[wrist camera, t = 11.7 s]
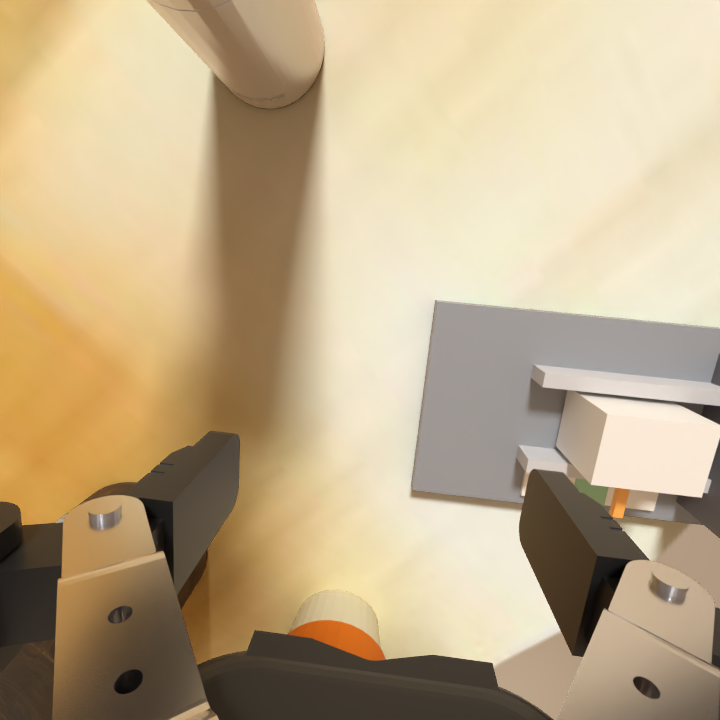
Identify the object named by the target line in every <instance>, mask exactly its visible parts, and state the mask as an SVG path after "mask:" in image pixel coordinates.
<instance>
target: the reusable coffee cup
mask: <svg viewBox="0 0 720 720" xmlns="http://www.w3.org/2000/svg"><path fill="white" fill-rule="evenodd" d="M288 635H292V636H299V637H307V638H313V639H315V640H318V641H320V642H323V643H326V644H328V645H331V646H333V647H336V648H338V649H341V650H344V651H346V652H349V653H351V654H354V655H356V656H359V657H361V658H364V659H367V660H372V661H379V660H386V659H385V657H384V654H383V652H382V650H381V648H380V639H379V630H378V621H377V618H376V615H375V612H374V611H373V609H372V608H371V606H370V605H369V604H368V603H367V602H366V601H365V600H363V599H362V598H361V597H359V596H357V595H355V594H353V593H350V592H347V591H343V590H326V591H322V592H319V593H316V594H314V595H313V596H311V597H310V598H308V599H307V600H306V601H305V602H304V603H303V605H302V606H301V608H300V610H299V612H298V614H297V617H296V619H295V621H294V624H293V626H292V628H291V630H290V633H289V634H288Z"/></svg>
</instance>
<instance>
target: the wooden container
mask: <svg viewBox="0 0 720 720" xmlns="http://www.w3.org/2000/svg"><path fill="white" fill-rule="evenodd" d="M135 484H136V483H133V482H126V483H117V484H113V485H110V486H107V487H104V488H102V489H100V490H98V491H97V492H95V493H94V494H93V495H91V496H90V497H88V498H87V499H86V500H84V501H83V502H82V503H85V502H87V501H90V500H93V499H96V498H100V497H105V496H112V495H124V494H125V493H126V492H127V491H128V490H129V489H131V488H132V487H133V486H134V485H135ZM82 503H80V504H82ZM80 504H79V505H80ZM76 507H77V506H76ZM67 514H68V513H67ZM67 514H66V515H67ZM66 515H64V516H63V517H61V518H60V519H59V520H57V521H56V522H55V523H61V522H63V521H64V518H65V516H66ZM206 559H207V549H206V551H205V553H204V554H203V556H202V557H201V559H200V560H199V562H198V563H197V565H196V566H195V568H194V570H193V571H192V573H191V574H190V576H189V577H188V579H187V580H186V582H185V583H184V585H183V587H182V588H181V590H180V591H179V593H178V594H177V598H178V602H179V605H180V609H182V607H183V605H184V604H185V602H186V600H187V599H188V597H189V596H190V594H191V592H192V591H193V589H194V587H195V586H196V584H197V582H198V581H199V579H200V577H201V575H202V573H203V571H204V568H205V565H206ZM54 662H55V639H54V640H47V641H40V642H33V643H26V645H25V646H24V647H23V648H22V650H21V651H20V652H19V653H18V654H17V655H16V656H15V657H14V659H13V660H12V661H11V662H10V663H9V664H8V665H7V667H6V668H5V669H4V670H3V671H2V672H1V673H0V720H52V712H53V687H54Z"/></svg>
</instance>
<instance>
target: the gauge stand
mask: <svg viewBox="0 0 720 720" xmlns="http://www.w3.org/2000/svg"><path fill="white" fill-rule="evenodd" d="M567 390H573V391H583V392H592V393H601V394H611V395H620V396H630V397H639V398H649V399H658V400H667V401H672V402H674V403H676V404H678V405H680V406H682V407H684V408H687V409H689V410H691V411H693V412H695V413H697V414H699V415H701V416H703V417H705V418H707V419H709V420H711V421H713V422H715V423H717V424H719V425H720V328H715V327H704V326H694V325H684V324H673V323H663V322H653V321H643V320H632V319H622V318H612V317H602V316H591V315H581V314H571V313H560V312H550V311H540V310H530V309H519V308H509V307H499V306H489V305H478V304H468V303H458V302H447V301H437V300H435V307H434V315H433V323H432V330H431V338H430V346H429V353H428V361H427V369H426V376H425V384H424V392H423V399H422V407H421V415H420V422H419V430H418V437H417V445H416V453H415V460H414V468H413V476H412V490H415V491H424V492H432V493H440V494H449V495H457V496H465V497H474V498H482V499H491V500H499V501H507V502H516V503H523V502H524V497H525V492H526V487H527V482H528V477H529V474H530V472H531V470H533V469H540V470H548V471H557V472H563V473H564V474H565V475H566V476H567V477H568V478H569V480H570V481H571V482H572V483H573V484H574V486H575V487H576V488H577V489H578V490H579V492H580V493H585V494H586V495H587V496H589V497H590V498H592V499H593V500H595V501H596V502H598V503H599V504H601V505H602V506H603V507H604V508H605V510H606V511H607V512H608V513H609V511H610V507H611V503H612V499H613V495H614V491H615V488H614V487H606V486H597V485H591V484H590V483H589V482H588V481H587V480H586V479H585V478H584V477H583V476H582V474H581V473H580V472H579V471H578V470H577V469H576V468H575V467H574V466H573V464H572V463H571V462H570V461H569V460H568V459H567V458H566V457H565V456H564V454H563V453H562V452H561V451H560V450H559V449H558V448H557V447H556V442H557V437H558V432H559V427H560V423H561V418H562V413H563V408H564V404H565V399H566V394H567ZM624 516H633V517H641V518H650V519H658V520H666V521H675V522H683V523H691V524H700V525H705V526H706V527H707V528H708V529H710V530H711V531H712V532H713V533H714V534H715V535H717V536H718V537H719V538H720V439H719V442H718V446H717V449H716V452H715V456H714V459H713V462H712V466H711V469H710V472H709V475H708V479H707V482H706V485H705V489H704V492H703V495H702V498H700V497H691V496H683V495H674V494H666V493H657V492H649V491H640V490H631V489H630V492H629V496H628V499H627V503H626V507H625V511H624Z"/></svg>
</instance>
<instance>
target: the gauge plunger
mask: <svg viewBox="0 0 720 720" xmlns="http://www.w3.org/2000/svg"><path fill="white" fill-rule="evenodd" d="M719 439H720V425H719V424H717V423H715V422H713V421H711V420H709V419H707V418H705V417H703V416H701V415H699V414H697V413H695V412H693V411H691V410H689V409H687V408H684V407H682V406H680V405H678V404H676V403H674V402H672V401H667V400H658V399H649V398H639V397H630V396H620V395H611V394H601V393H592V392H583V391H573V390H567V394H566V399H565V404H564V408H563V413H562V418H561V423H560V427H559V432H558V437H557V442H556V447H557V448H558V449H559V450H560V451H561V452H562V453H563V454H564V456H565V457H566V458H567V459H568V460H569V461H570V462H571V463H572V464H573V466H574V467H575V468H576V469H577V470H578V471H579V472H580V473H581V474H582V476H583V477H584V478H585V479H586V480H587V481H588V482H589V483H590V484H591V485H597V486H606V487H614V488H615V491H614V495H613V499H612V503H611V507H610V511H609V514H610V515H611V516H612V517H615V518H623V515H624V511H625V507H626V503H627V499H628V496H629V492H630V489H631V490H640V491H649V492H657V493H666V494H674V495H683V496H691V497H700V498H702V495H703V492H704V489H705V485H706V482H707V479H708V475H709V472H710V469H711V466H712V462H713V459H714V456H715V452H716V449H717V446H718V442H719Z"/></svg>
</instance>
